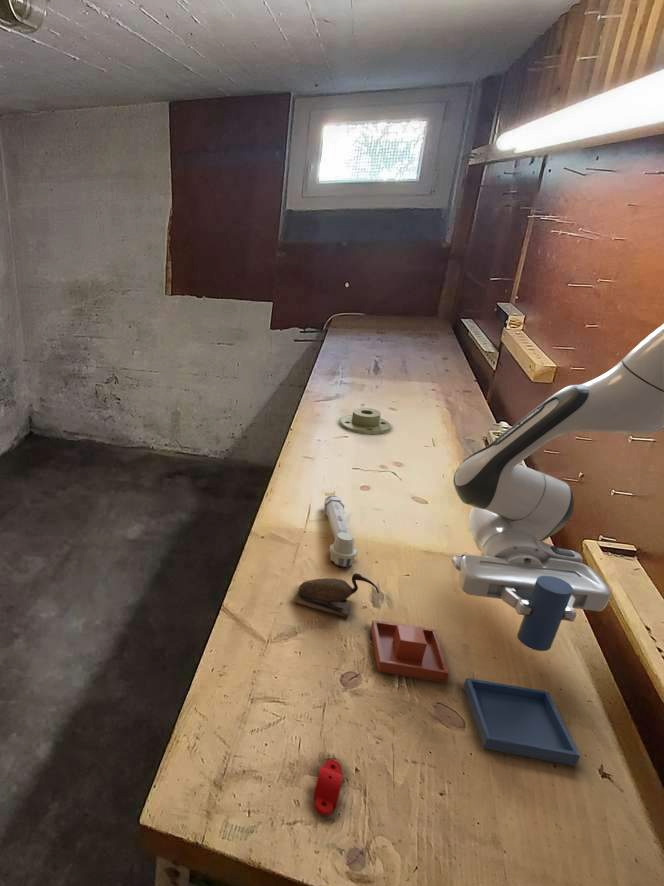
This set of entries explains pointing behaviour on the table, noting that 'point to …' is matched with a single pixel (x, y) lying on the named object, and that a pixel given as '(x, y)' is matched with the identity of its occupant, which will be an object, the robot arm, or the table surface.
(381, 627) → the terracotta tray
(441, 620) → the table surface
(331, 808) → the pipe clamp
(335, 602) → the figurine
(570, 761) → the blue tray
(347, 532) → the light grey long piece
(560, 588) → the blue canister
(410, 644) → the terracotta block
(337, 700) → the table surface
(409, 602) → the table surface
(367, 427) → the flange
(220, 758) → the table surface
